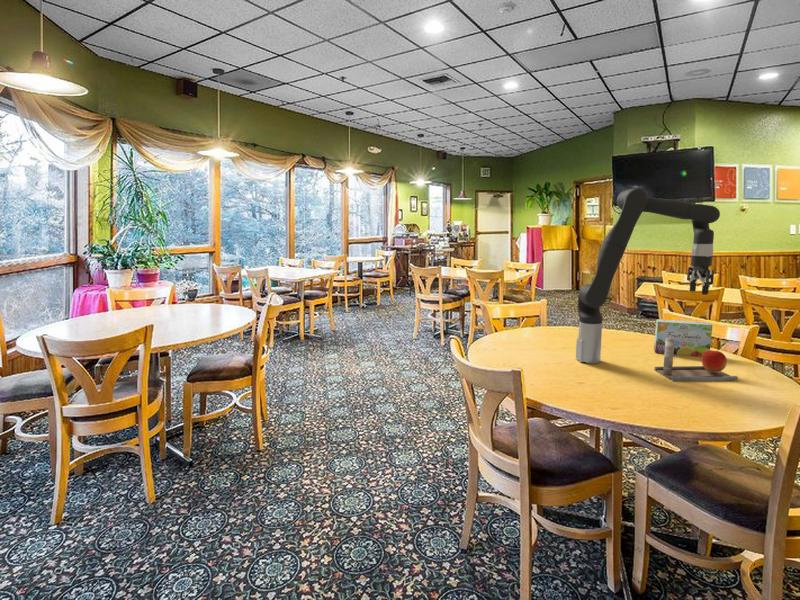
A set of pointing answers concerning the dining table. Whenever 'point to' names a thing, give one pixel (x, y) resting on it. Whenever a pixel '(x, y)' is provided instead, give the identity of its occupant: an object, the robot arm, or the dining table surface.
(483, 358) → the dining table surface
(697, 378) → the lane rails
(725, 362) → the apple
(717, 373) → the board with upright post
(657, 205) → the robot arm
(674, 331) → the snack box
